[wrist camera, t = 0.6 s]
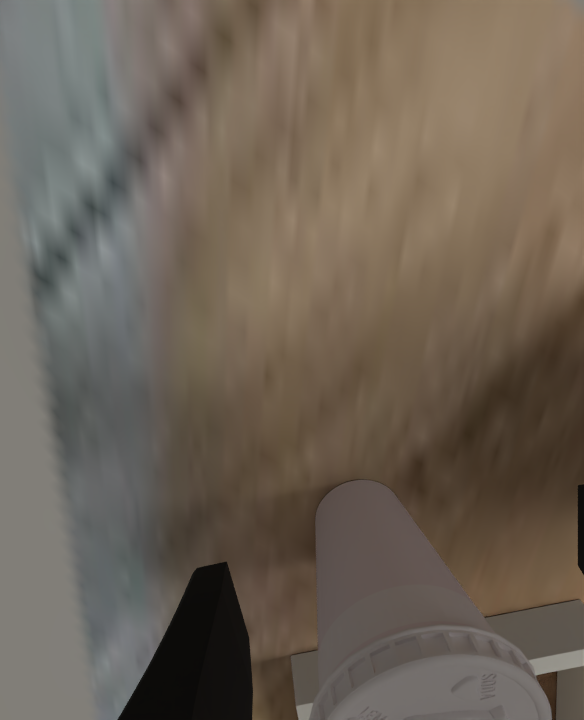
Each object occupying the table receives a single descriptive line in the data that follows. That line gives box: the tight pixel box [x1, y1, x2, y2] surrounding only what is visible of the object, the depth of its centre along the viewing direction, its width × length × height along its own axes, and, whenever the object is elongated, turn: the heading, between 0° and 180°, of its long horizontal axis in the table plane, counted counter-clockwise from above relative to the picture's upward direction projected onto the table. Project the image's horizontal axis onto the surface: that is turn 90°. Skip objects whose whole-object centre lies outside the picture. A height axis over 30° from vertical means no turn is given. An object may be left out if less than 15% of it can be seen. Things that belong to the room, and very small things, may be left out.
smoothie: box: [309, 480, 552, 720], centre depth 16 cm, size 6×6×14 cm
